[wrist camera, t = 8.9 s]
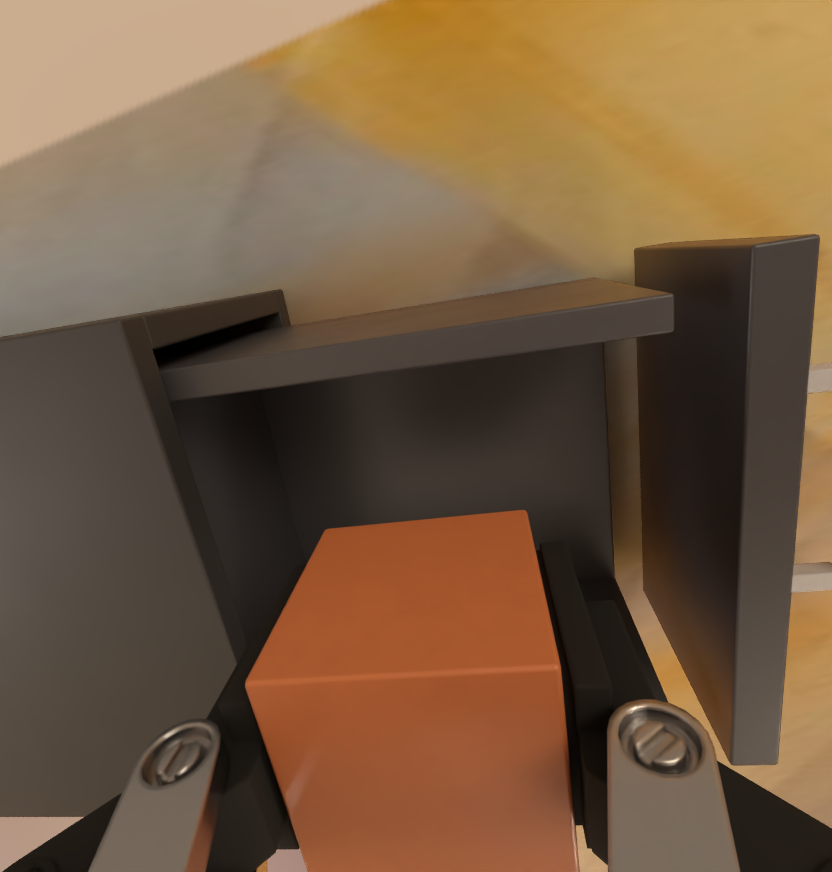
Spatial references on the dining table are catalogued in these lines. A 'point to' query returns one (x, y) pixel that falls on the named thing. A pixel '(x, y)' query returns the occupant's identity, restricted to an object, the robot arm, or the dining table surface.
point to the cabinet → (105, 554)
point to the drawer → (544, 445)
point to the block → (420, 702)
